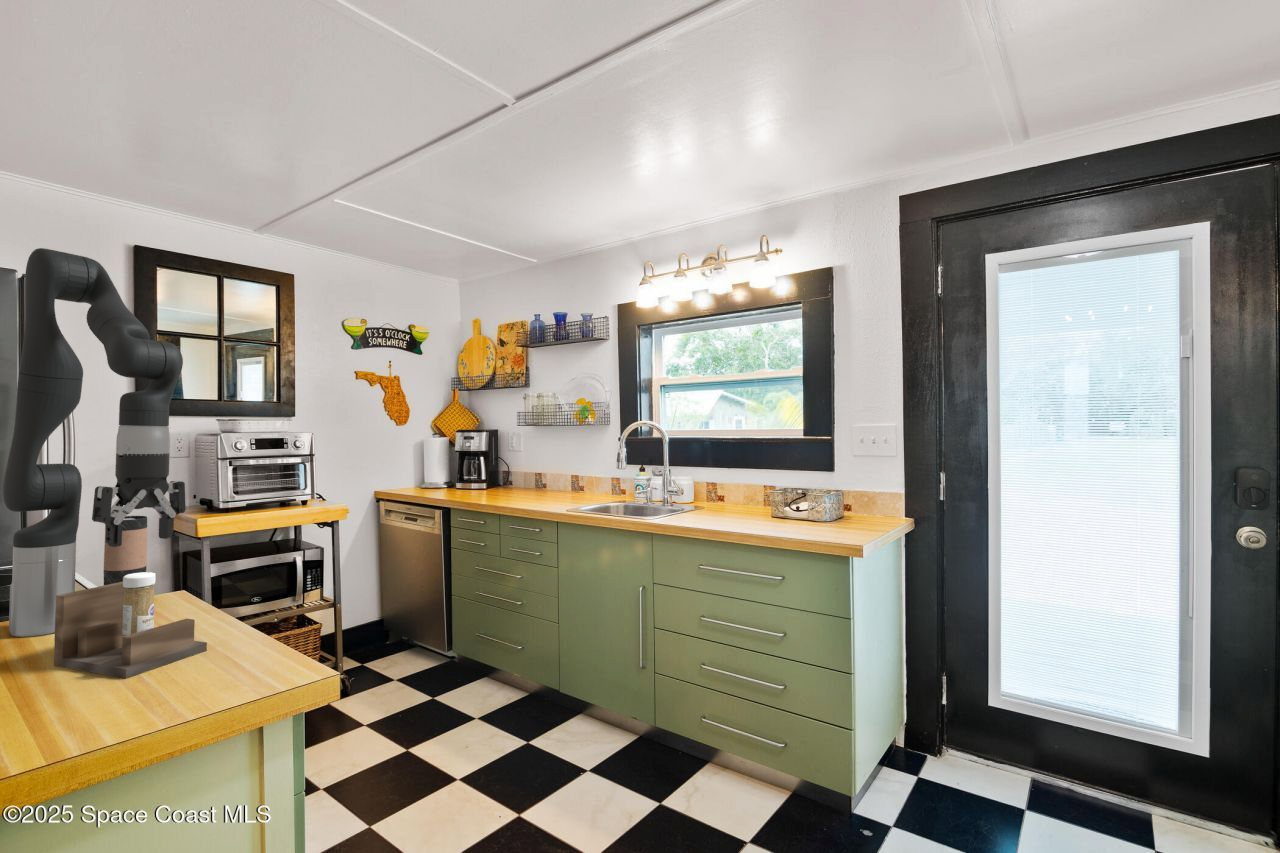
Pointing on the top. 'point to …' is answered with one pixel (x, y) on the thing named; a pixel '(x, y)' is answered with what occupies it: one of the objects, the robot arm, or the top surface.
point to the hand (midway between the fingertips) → (140, 542)
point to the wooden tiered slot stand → (114, 636)
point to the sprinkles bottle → (138, 602)
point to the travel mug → (127, 551)
